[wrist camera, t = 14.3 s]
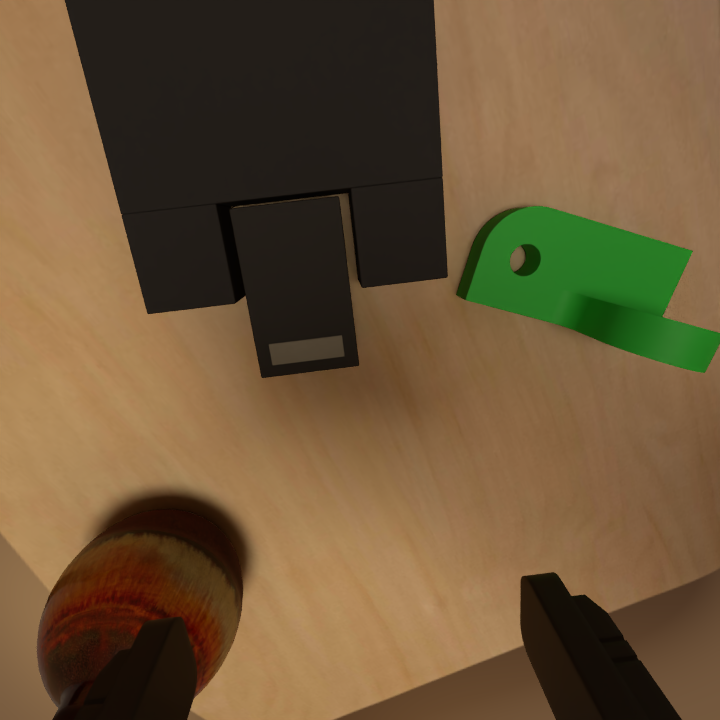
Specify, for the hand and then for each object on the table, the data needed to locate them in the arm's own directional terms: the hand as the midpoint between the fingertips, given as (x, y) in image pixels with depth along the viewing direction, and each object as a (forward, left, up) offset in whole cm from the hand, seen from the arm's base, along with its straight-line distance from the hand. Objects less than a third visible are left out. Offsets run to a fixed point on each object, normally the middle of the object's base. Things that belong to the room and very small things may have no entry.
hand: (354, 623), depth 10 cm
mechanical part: (-14, -5, -19) cm, 24 cm away
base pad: (+2, -13, -19) cm, 23 cm away
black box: (+2, -6, -19) cm, 20 cm away
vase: (+14, +12, -19) cm, 26 cm away
